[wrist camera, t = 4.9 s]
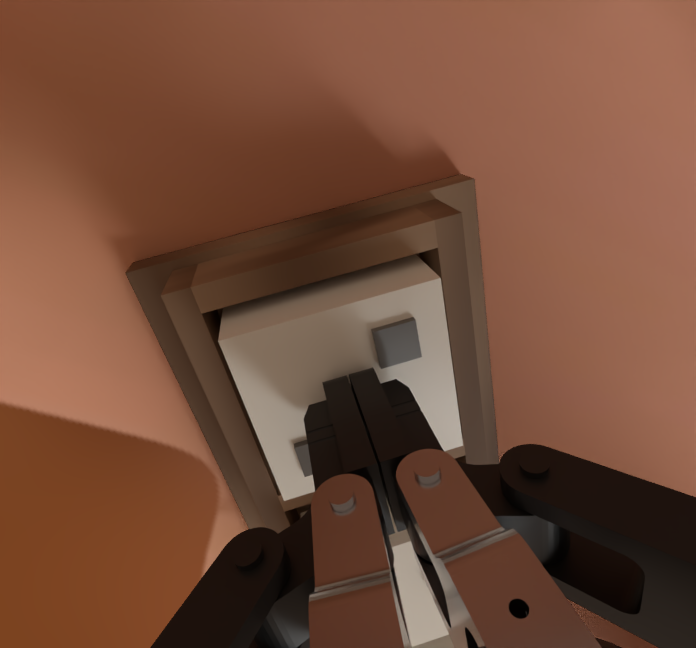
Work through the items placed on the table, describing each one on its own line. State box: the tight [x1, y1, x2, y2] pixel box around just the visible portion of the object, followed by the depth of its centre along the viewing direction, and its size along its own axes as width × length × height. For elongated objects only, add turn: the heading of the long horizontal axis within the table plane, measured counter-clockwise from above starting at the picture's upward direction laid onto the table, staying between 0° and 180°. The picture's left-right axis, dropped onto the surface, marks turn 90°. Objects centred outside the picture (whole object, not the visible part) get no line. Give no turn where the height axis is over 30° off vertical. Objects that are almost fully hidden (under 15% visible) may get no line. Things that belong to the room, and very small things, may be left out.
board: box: [126, 174, 499, 533], centre depth 20 cm, size 11×26×3 cm, turn 13°
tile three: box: [218, 254, 463, 501], centre depth 14 cm, size 6×6×3 cm
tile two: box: [300, 499, 449, 647], centre depth 17 cm, size 6×6×3 cm
